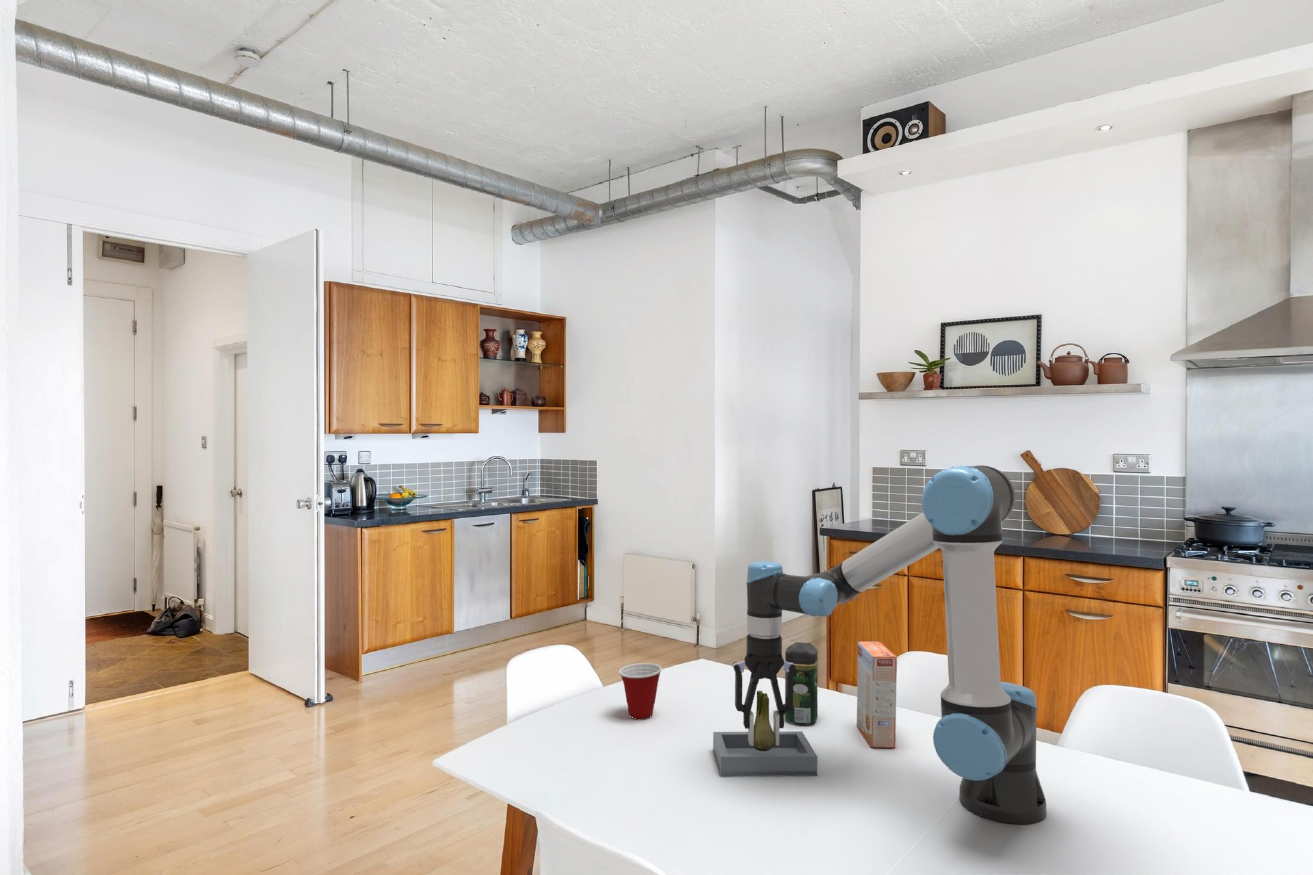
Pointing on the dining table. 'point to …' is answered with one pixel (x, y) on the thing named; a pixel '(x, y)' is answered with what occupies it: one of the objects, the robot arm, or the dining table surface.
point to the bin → (764, 756)
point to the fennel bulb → (763, 724)
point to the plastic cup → (640, 688)
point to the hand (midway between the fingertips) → (763, 742)
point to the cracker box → (876, 694)
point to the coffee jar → (803, 683)
